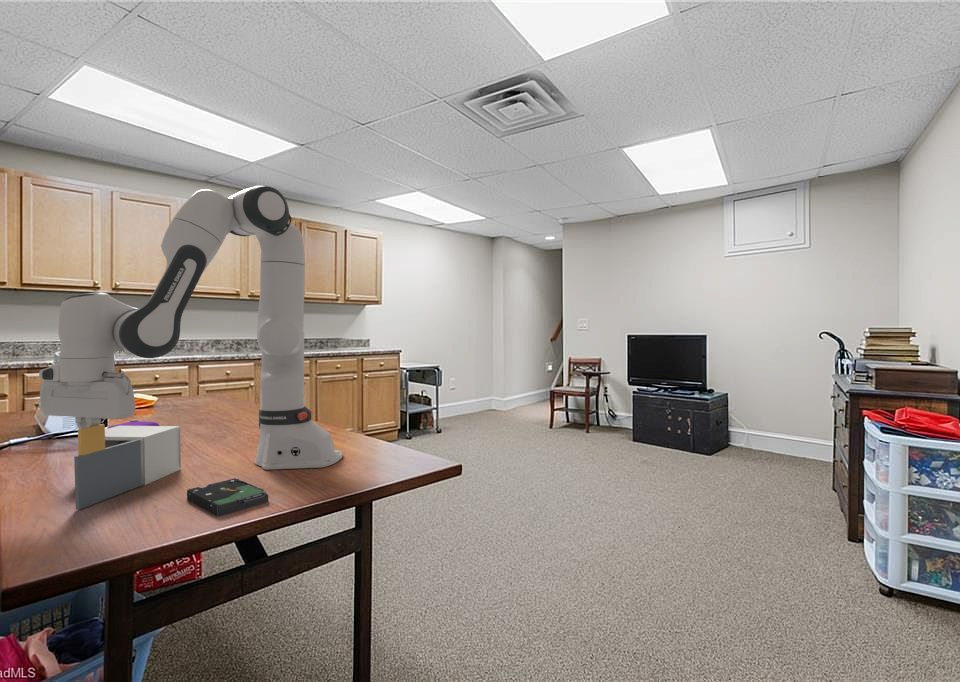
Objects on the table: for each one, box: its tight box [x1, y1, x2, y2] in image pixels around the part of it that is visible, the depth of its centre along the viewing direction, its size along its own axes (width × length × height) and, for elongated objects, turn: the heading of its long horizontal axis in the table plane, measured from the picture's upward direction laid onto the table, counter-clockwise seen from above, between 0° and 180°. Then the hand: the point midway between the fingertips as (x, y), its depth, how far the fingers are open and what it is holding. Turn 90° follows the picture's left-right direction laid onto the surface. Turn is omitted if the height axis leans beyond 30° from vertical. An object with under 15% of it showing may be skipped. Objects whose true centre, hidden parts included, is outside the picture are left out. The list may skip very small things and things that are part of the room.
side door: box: [73, 423, 145, 511], centre depth 103 cm, size 15×1×16 cm, turn 171°
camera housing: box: [77, 425, 182, 486], centre depth 118 cm, size 16×13×11 cm
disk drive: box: [186, 478, 269, 517], centre depth 101 cm, size 10×3×15 cm
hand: (88, 438), depth 100 cm, fingers closed
